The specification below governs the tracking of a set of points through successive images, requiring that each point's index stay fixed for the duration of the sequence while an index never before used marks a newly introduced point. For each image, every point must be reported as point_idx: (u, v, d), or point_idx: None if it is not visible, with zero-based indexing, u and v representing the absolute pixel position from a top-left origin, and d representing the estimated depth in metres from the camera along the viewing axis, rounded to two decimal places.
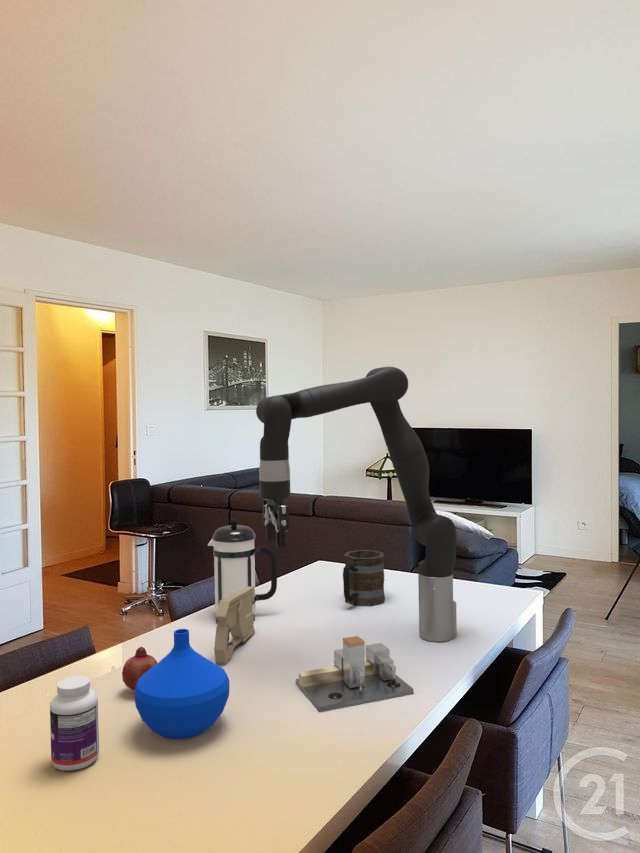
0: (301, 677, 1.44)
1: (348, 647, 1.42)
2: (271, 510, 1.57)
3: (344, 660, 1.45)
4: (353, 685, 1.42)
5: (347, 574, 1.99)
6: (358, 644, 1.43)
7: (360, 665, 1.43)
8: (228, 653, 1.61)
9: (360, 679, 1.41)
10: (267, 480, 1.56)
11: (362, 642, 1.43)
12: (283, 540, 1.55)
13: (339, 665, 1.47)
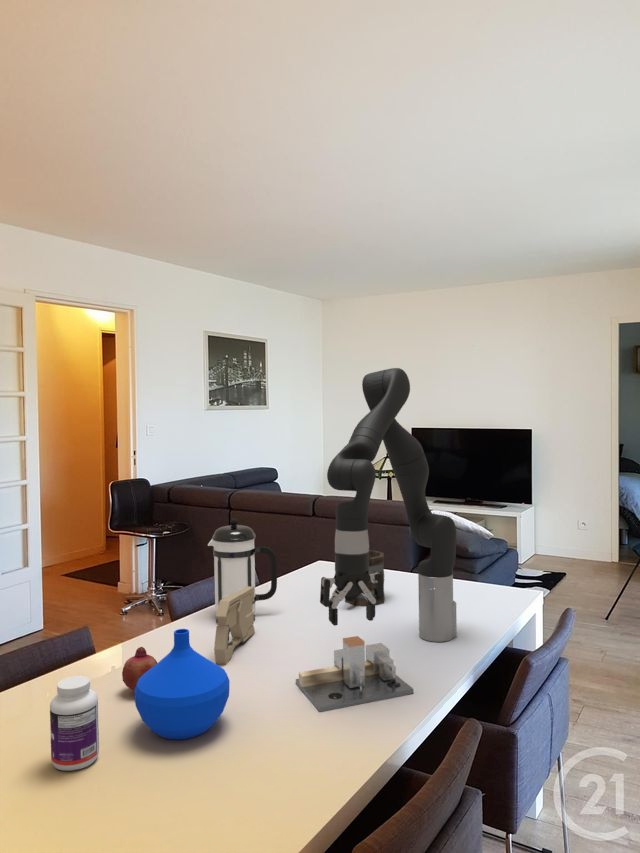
0: (301, 677, 1.44)
1: (348, 647, 1.42)
2: (364, 583, 1.43)
3: (344, 660, 1.45)
4: (353, 685, 1.42)
5: None
6: (358, 644, 1.43)
7: (360, 665, 1.43)
8: (228, 653, 1.61)
9: (360, 679, 1.41)
10: (367, 551, 1.42)
11: (362, 642, 1.43)
12: None
13: (339, 665, 1.47)
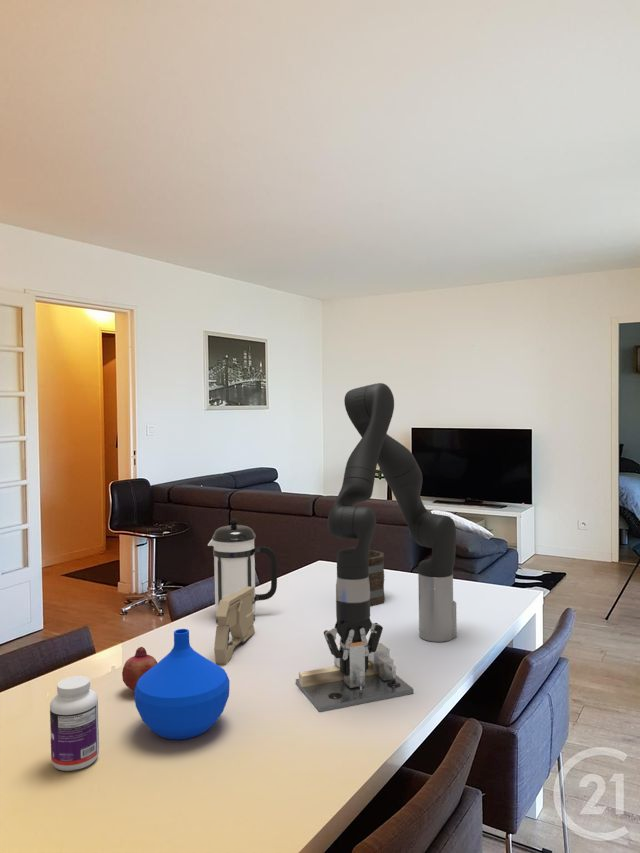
0: (301, 677, 1.44)
1: None
2: None
3: None
4: (353, 685, 1.42)
5: None
6: (358, 644, 1.43)
7: (360, 665, 1.43)
8: (228, 653, 1.61)
9: (360, 679, 1.41)
10: (368, 598, 1.42)
11: (362, 642, 1.43)
12: None
13: (339, 665, 1.47)
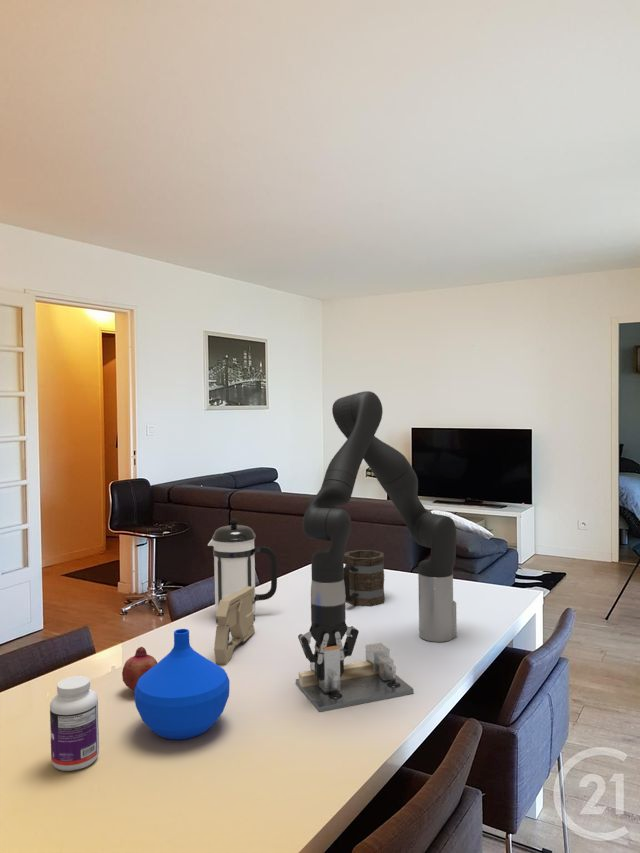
0: (301, 677, 1.44)
1: None
2: None
3: None
4: (328, 690, 1.40)
5: (347, 574, 1.99)
6: (333, 648, 1.40)
7: (335, 669, 1.41)
8: (228, 653, 1.61)
9: (335, 684, 1.39)
10: (344, 601, 1.40)
11: (337, 646, 1.41)
12: None
13: None
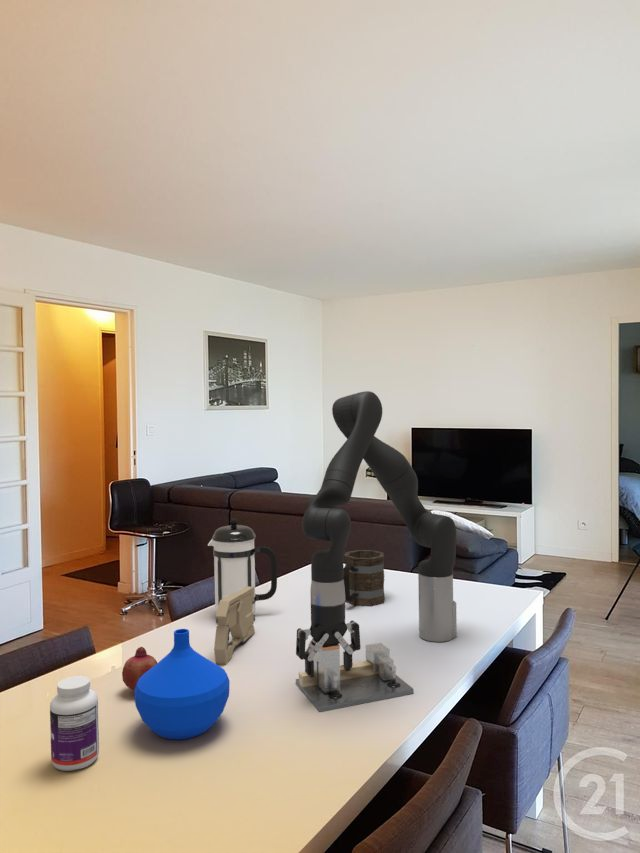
0: (301, 677, 1.44)
1: (323, 651, 1.40)
2: (340, 634, 1.41)
3: (319, 664, 1.43)
4: (328, 690, 1.40)
5: (347, 574, 1.99)
6: (333, 648, 1.40)
7: (335, 669, 1.41)
8: (228, 653, 1.61)
9: (335, 684, 1.39)
10: (343, 601, 1.40)
11: (337, 646, 1.41)
12: None
13: (314, 669, 1.45)
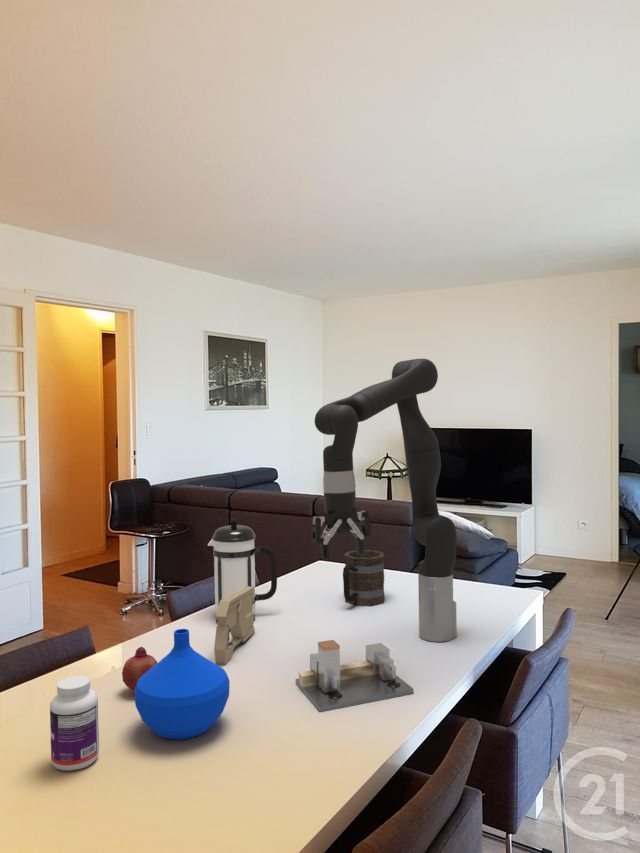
0: (301, 677, 1.44)
1: (323, 651, 1.40)
2: (352, 520, 1.54)
3: (319, 664, 1.43)
4: (328, 690, 1.40)
5: (347, 574, 1.99)
6: (333, 648, 1.40)
7: (335, 669, 1.41)
8: (228, 653, 1.61)
9: (335, 684, 1.39)
10: (354, 490, 1.53)
11: (337, 646, 1.41)
12: None
13: (314, 669, 1.45)
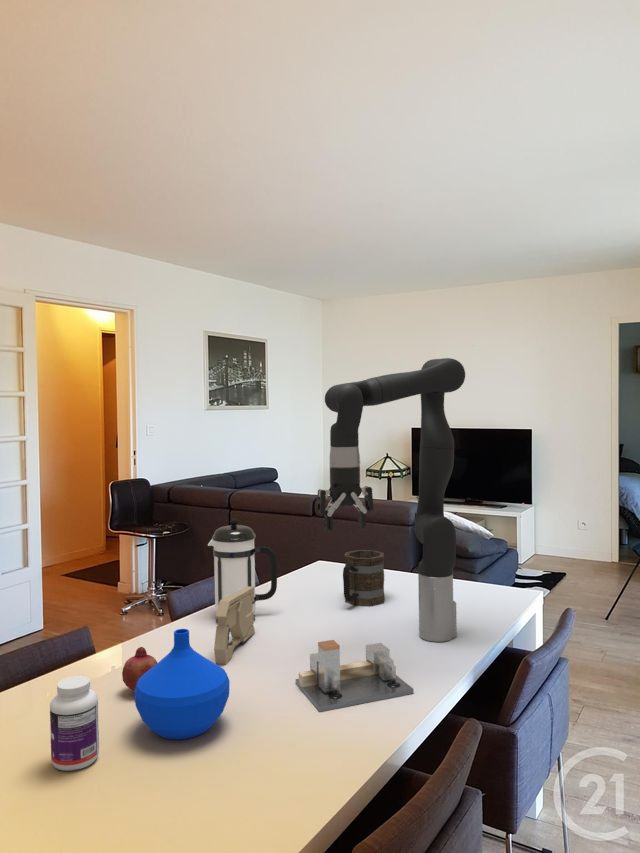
0: (301, 677, 1.44)
1: (323, 651, 1.40)
2: (355, 495, 1.61)
3: (319, 664, 1.43)
4: (328, 690, 1.40)
5: (347, 574, 1.99)
6: (333, 648, 1.40)
7: (335, 669, 1.41)
8: (228, 653, 1.61)
9: (335, 684, 1.39)
10: (358, 465, 1.60)
11: (337, 646, 1.41)
12: None
13: (314, 669, 1.45)
